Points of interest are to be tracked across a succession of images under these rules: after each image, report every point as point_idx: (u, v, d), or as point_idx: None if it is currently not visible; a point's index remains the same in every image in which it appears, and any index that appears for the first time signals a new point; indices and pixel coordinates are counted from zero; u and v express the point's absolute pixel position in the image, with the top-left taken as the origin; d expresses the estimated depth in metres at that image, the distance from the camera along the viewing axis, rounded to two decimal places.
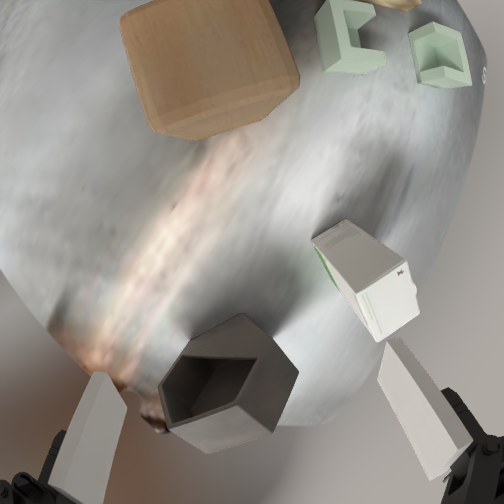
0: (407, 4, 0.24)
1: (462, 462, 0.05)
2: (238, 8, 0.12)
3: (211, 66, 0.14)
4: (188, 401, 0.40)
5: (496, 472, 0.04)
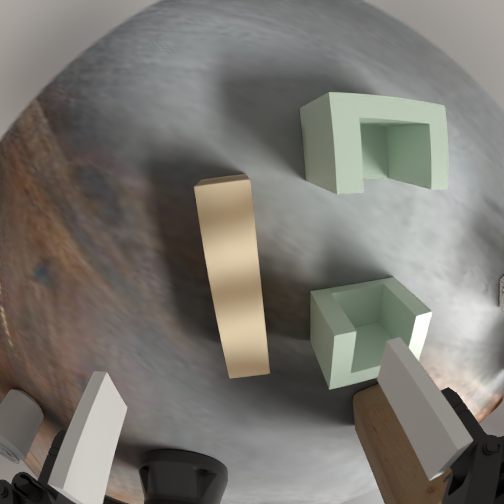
0: None
1: (462, 462, 0.05)
2: None
3: None
4: None
5: (496, 472, 0.04)
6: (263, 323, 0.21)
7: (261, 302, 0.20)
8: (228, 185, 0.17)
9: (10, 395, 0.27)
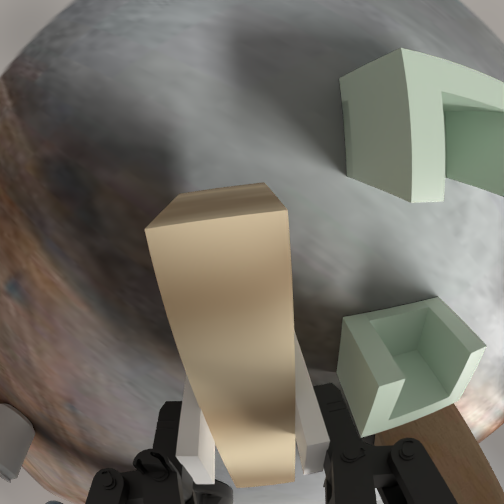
0: None
1: (327, 462, 0.07)
2: None
3: None
4: None
5: (368, 478, 0.06)
6: (292, 444, 0.11)
7: (293, 425, 0.10)
8: (231, 226, 0.07)
9: None
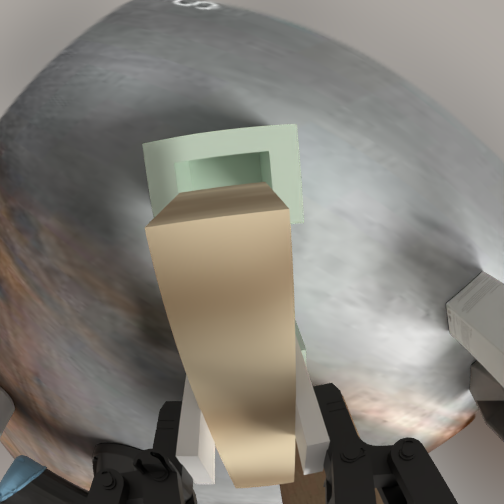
0: None
1: (327, 462, 0.07)
2: None
3: None
4: (503, 401, 0.33)
5: (368, 478, 0.06)
6: (292, 445, 0.11)
7: (293, 425, 0.10)
8: (231, 225, 0.07)
9: None
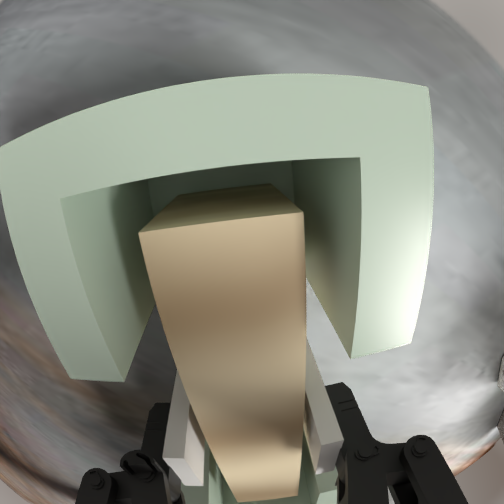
0: None
1: (340, 461, 0.07)
2: None
3: None
4: None
5: (382, 476, 0.06)
6: (298, 461, 0.10)
7: (299, 442, 0.09)
8: (238, 230, 0.06)
9: None
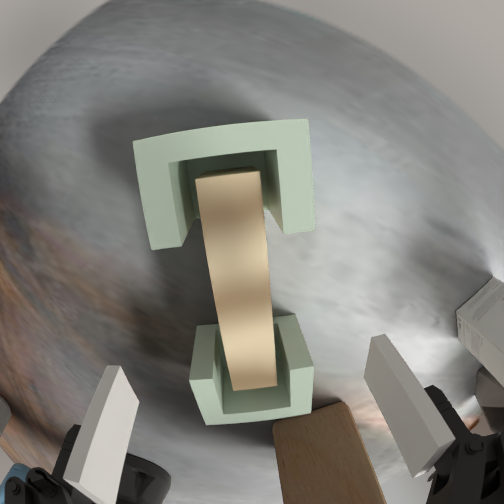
0: None
1: (445, 460, 0.06)
2: None
3: None
4: None
5: (481, 471, 0.04)
6: (271, 333, 0.19)
7: (270, 310, 0.18)
8: (234, 178, 0.15)
9: None
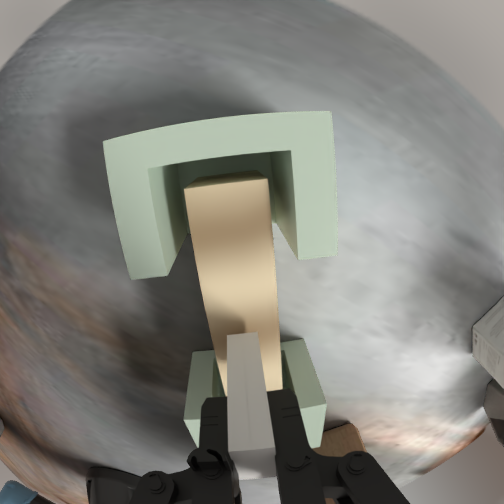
0: None
1: (276, 468, 0.07)
2: None
3: None
4: None
5: (317, 486, 0.06)
6: (279, 370, 0.15)
7: (278, 347, 0.15)
8: (235, 187, 0.12)
9: None
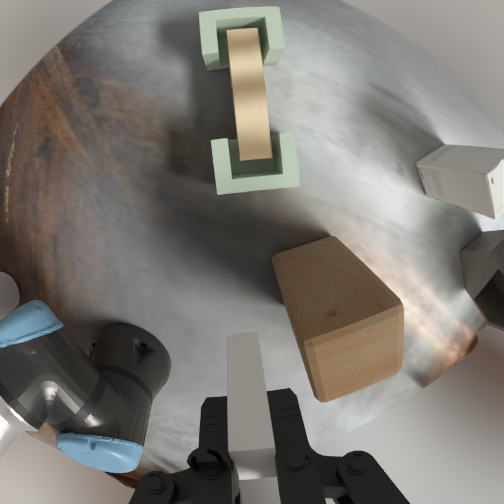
0: None
1: (276, 468, 0.07)
2: (343, 348, 0.23)
3: (381, 354, 0.23)
4: (502, 302, 0.40)
5: (317, 486, 0.06)
6: (266, 109, 0.28)
7: (264, 94, 0.27)
8: (245, 30, 0.24)
9: None
